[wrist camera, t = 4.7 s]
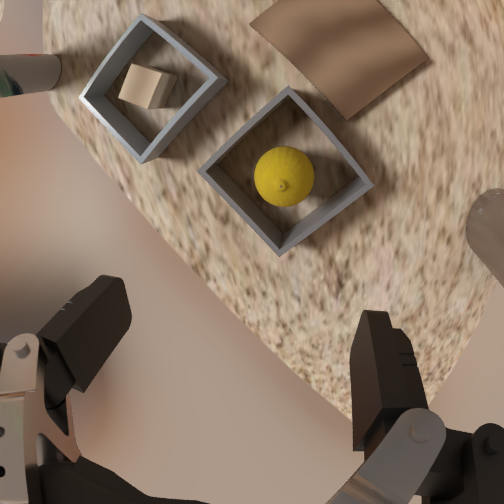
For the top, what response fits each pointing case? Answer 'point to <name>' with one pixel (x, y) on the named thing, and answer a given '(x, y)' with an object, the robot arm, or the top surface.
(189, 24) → the top surface
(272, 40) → the walnut board
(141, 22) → the slate-blue bin
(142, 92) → the birch block
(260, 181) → the lemon
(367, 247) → the top surface
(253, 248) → the top surface
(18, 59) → the lotion bottle
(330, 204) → the charcoal bin
